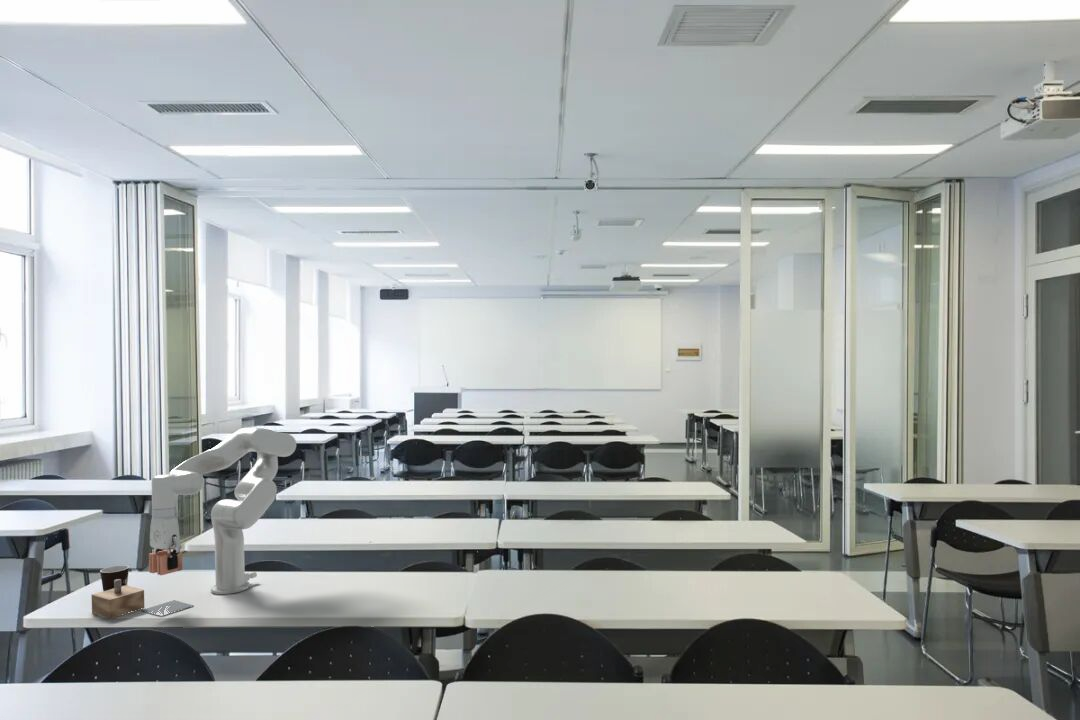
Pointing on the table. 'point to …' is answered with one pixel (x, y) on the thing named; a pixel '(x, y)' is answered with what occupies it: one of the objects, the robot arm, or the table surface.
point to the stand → (117, 600)
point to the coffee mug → (114, 576)
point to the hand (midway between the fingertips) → (165, 567)
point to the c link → (162, 563)
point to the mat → (173, 606)
